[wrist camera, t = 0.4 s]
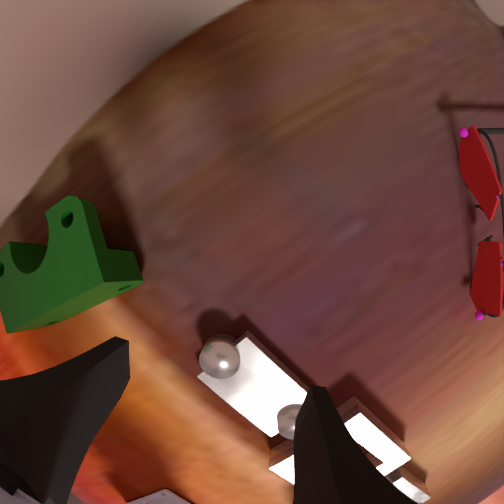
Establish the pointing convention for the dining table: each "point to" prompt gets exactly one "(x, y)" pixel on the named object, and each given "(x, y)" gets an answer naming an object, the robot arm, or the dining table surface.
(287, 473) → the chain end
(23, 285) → the clamp
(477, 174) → the glasses
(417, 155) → the dining table surface
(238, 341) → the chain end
